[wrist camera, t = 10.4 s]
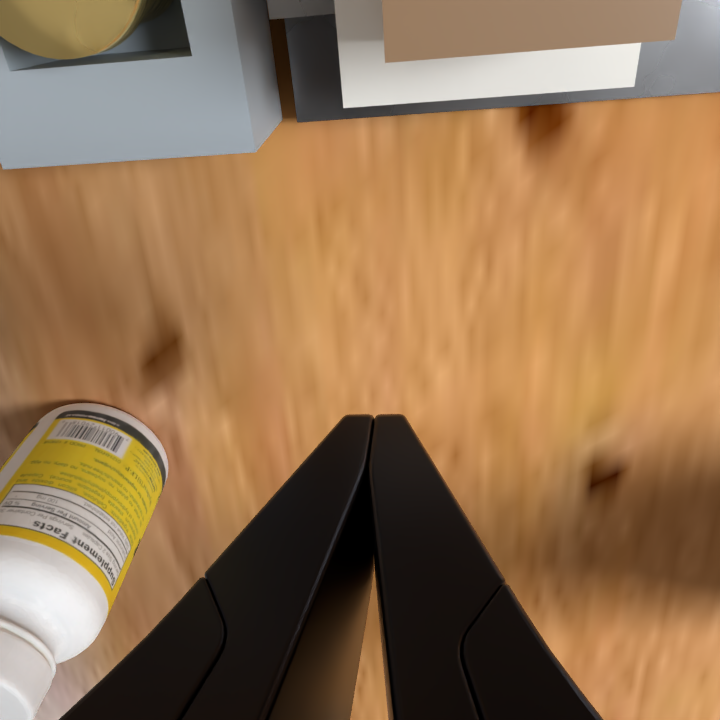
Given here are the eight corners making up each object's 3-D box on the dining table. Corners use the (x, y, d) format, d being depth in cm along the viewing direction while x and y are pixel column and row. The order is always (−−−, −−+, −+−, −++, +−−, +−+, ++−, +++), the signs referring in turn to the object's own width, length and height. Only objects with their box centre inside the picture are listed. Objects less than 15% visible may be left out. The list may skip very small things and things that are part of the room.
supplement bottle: (91, 512, 26) (-53, 764, 17) (8, 420, 23) (-209, 666, 15) (198, 482, 24) (97, 738, 16) (122, 380, 22) (-45, 625, 13)
